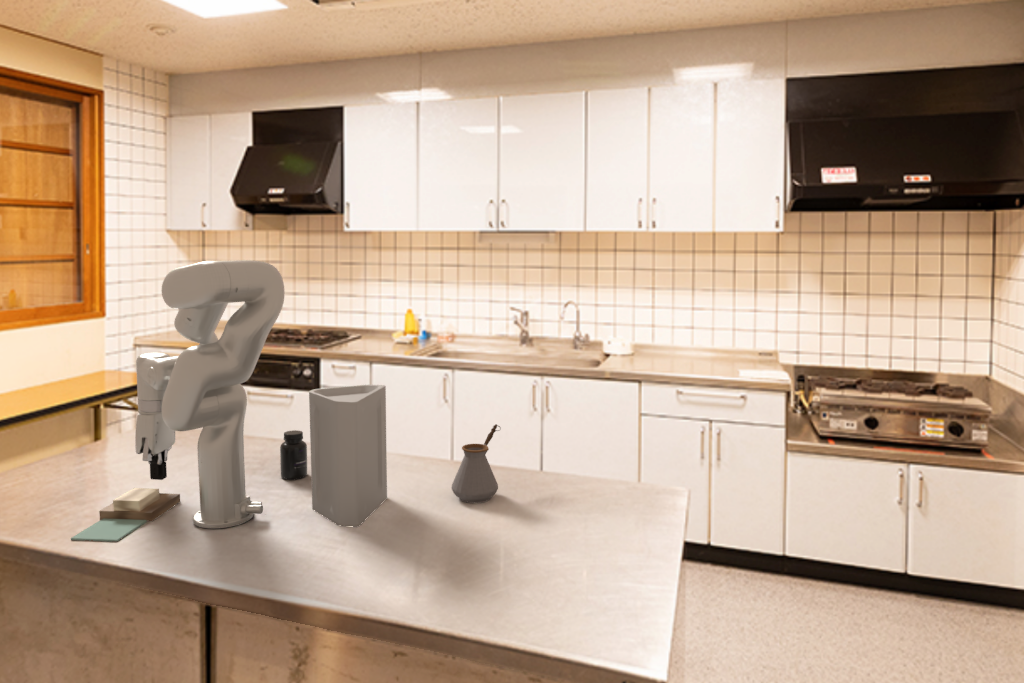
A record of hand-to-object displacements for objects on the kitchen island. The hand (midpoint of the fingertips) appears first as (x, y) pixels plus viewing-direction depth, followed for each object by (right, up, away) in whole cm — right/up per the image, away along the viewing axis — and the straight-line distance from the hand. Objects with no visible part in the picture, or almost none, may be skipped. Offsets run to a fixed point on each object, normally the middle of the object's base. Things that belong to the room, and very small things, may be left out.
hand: (158, 478), depth 172 cm
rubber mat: (-1, -7, -20) cm, 21 cm away
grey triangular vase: (+46, -6, -6) cm, 47 cm away
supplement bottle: (+28, -3, +17) cm, 33 cm away
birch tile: (0, -4, -10) cm, 11 cm away
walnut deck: (0, -6, -8) cm, 10 cm away
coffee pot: (+78, -5, +7) cm, 79 cm away
